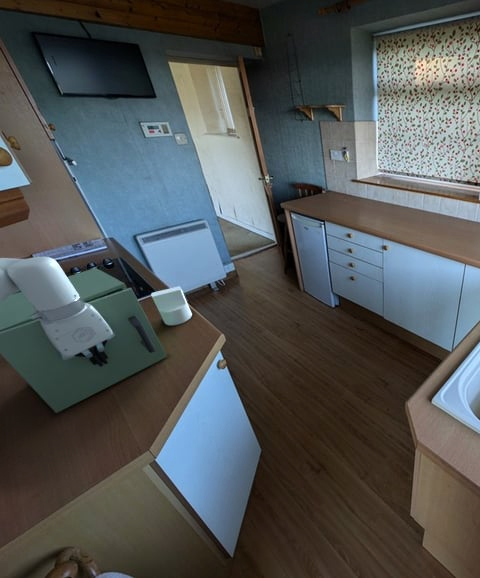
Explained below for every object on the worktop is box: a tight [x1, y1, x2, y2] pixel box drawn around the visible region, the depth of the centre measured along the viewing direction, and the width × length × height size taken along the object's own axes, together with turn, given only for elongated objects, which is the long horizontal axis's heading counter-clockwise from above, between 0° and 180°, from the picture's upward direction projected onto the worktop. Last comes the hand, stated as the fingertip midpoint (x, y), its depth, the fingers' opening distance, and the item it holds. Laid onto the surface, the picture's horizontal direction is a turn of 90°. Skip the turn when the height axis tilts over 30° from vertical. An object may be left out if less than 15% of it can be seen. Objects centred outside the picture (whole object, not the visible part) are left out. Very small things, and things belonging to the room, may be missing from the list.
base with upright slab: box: [150, 285, 193, 326], centre depth 108 cm, size 9×9×12 cm
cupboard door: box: [0, 287, 168, 414], centre depth 77 cm, size 7×26×26 cm, turn 142°
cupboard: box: [0, 267, 128, 332], centre depth 83 cm, size 18×26×26 cm
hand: (102, 363), depth 79 cm, fingers closed
